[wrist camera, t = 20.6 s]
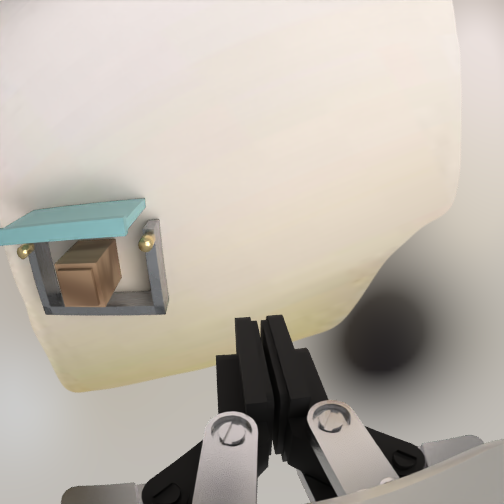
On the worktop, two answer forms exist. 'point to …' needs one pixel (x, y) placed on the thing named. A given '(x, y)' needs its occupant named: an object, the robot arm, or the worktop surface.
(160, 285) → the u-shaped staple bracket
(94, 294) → the block
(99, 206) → the flat teal rectangular block
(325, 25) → the worktop surface
